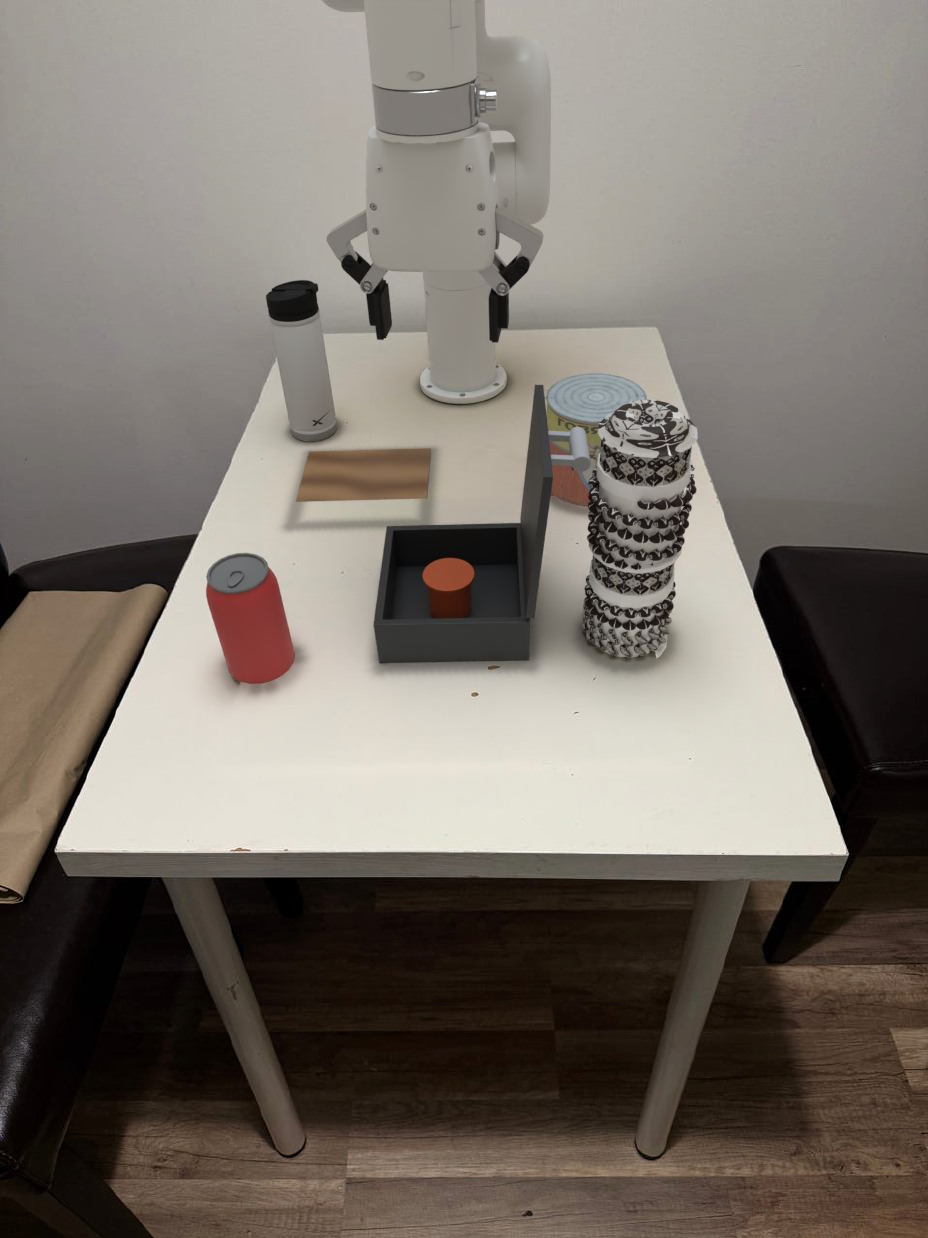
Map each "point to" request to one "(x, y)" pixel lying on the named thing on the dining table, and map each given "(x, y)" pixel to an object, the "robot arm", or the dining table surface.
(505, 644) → the open hinged box
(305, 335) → the travel mug
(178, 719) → the dining table surface
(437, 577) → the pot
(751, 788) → the dining table surface
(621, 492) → the decorative candle
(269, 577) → the beer can
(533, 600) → the lid
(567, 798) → the dining table surface
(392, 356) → the dining table surface
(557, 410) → the canned food
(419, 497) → the mat
